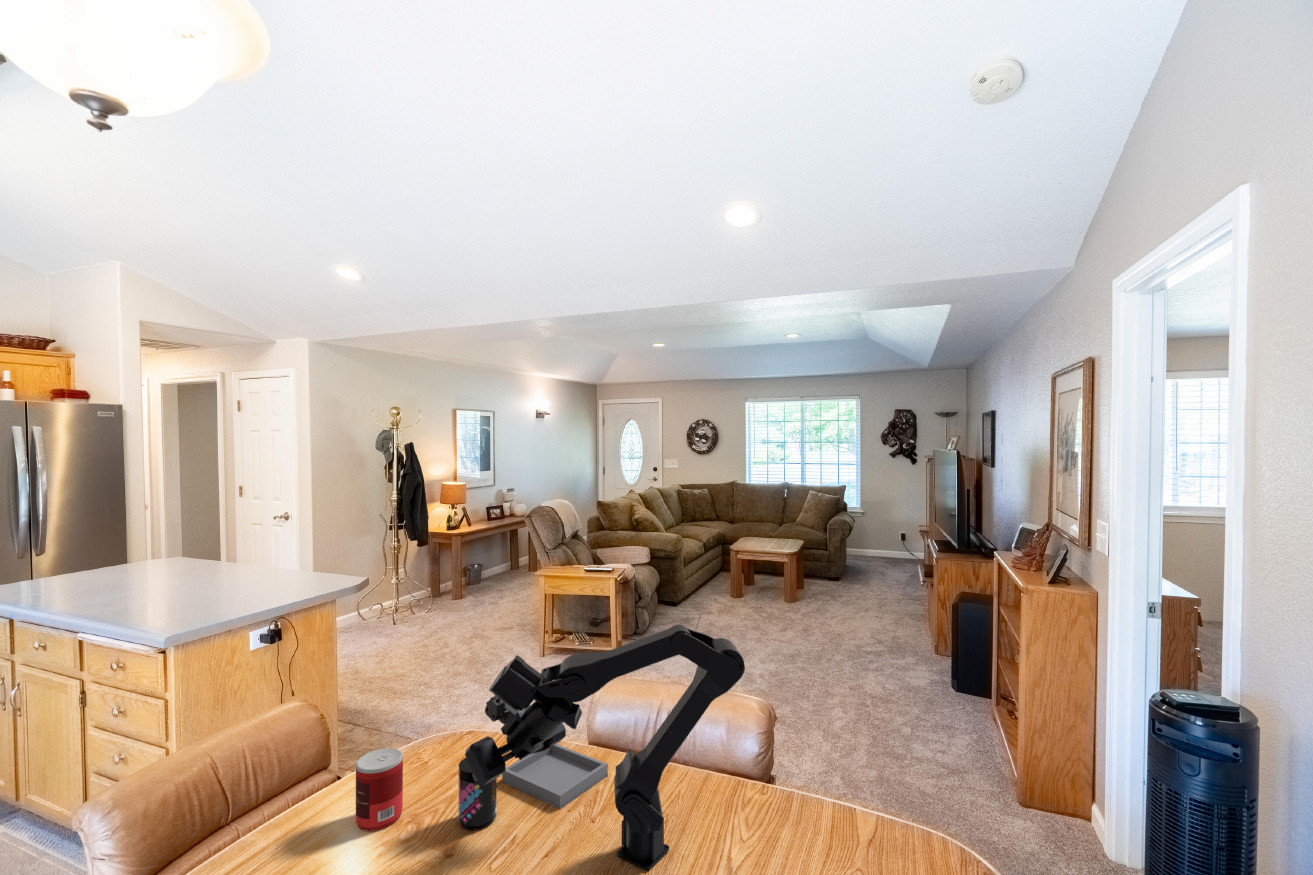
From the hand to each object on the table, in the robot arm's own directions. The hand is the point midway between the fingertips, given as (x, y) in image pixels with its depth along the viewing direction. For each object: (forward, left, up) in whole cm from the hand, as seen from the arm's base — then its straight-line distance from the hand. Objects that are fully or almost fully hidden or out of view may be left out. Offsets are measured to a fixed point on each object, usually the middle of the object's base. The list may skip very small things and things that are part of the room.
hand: (495, 766), depth 108 cm
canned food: (+20, +10, -11) cm, 25 cm away
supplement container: (+5, 0, -11) cm, 12 cm away
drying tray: (+3, -18, -11) cm, 22 cm away
